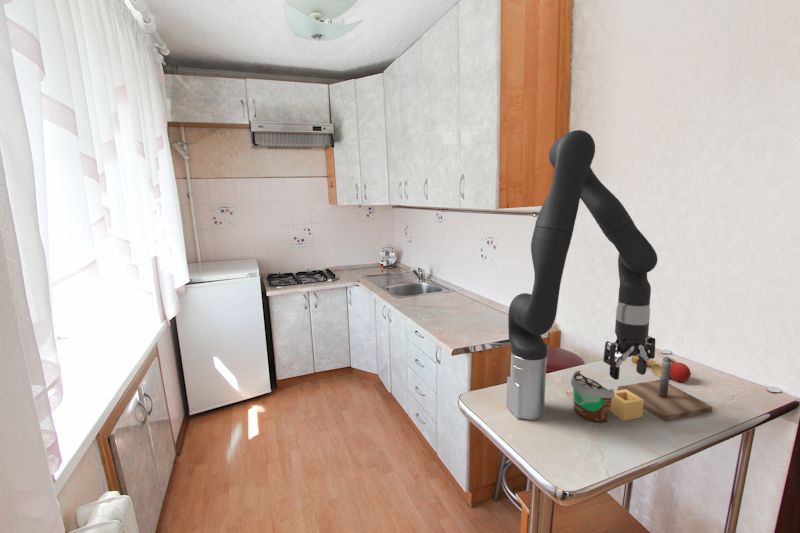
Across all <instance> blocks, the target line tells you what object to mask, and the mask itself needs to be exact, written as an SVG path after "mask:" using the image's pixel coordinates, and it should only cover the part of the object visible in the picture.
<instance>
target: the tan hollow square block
mask: <svg viewBox="0 0 800 533" xmlns="http://www.w3.org/2000/svg"><path fill="white" fill-rule="evenodd" d="M617 390H618V389H617ZM617 390H613V392H614V397H613V398H612V400H611V405H610V410H609V412H611V413H612V414H614V415H615V416H616V417H617V418H619V419H620V420H621V421H628V420H633V419H634V420H635V419H639V418H643V414H644V413H643V412H644V408H643V405H644V400H643V399H641V398H640V397H638V396H636V395H635V394H633V393H632V392H630V391H628V390H627V389H624V390H618V391H617Z"/></svg>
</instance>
